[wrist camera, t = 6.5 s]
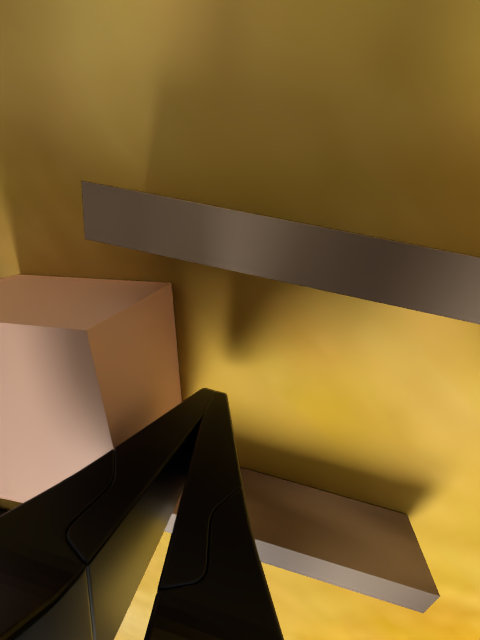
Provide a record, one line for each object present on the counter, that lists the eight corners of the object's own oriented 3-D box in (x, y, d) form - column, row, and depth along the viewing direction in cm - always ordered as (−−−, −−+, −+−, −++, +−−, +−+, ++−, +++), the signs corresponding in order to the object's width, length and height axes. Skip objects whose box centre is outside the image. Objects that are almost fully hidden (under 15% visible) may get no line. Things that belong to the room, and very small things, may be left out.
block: (58, 404, 12) (-44, 488, 8) (19, 274, 10) (-148, 309, 6) (183, 421, 11) (131, 525, 7) (171, 282, 9) (86, 330, 5)
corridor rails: (136, 455, 12) (101, 511, 10) (142, 192, 8) (81, 181, 5) (395, 531, 11) (422, 612, 9) (575, 276, 7) (727, 305, 4)
